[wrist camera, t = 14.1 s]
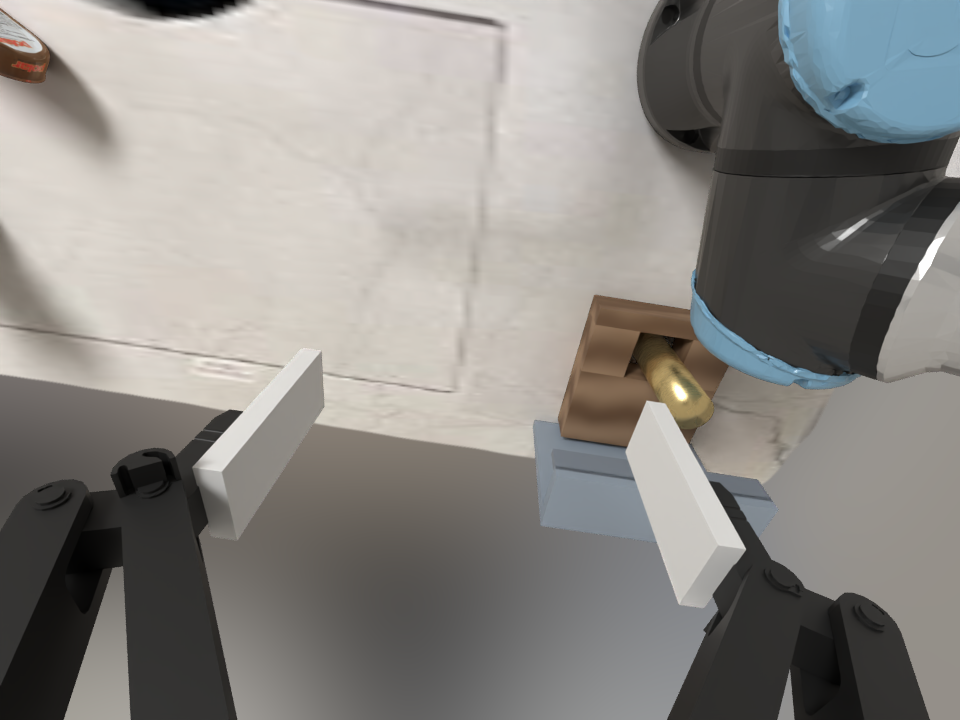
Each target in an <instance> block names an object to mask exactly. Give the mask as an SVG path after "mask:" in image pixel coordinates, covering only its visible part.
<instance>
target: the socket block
mask: <svg viewBox="0 0 960 720" xmlns="http://www.w3.org/2000/svg"><path fill="white" fill-rule="evenodd" d="M640 332H645V333H651V334H658V335H664V336H670V337H676V338H675V340H674V343H673V345H672V349H673V350H674V352H675V353H676V354H677V356H678V357H679V358H680V360H681V361H682V362H683V364H684V365H685V366H686V368H687V369H688V370H689V372H690V373H691V374H692V376H693V377H694V378H695V380H696V381H697V382H698V384H699V385H700V386H701V388H702V389H703V390H704V392H705V393H706V394H707V396H708V397H709V398H710V400H712V398H713V396H714V394H715V392H716V390H717V388H718V386H719V384H720V382H721V380H722V378H723V376H724V374H725V372H726V370H727V368H728V366H729V365H727V364H726V363H724V362H723V361H721V360H719V359H718V358H717V357H715V356H714V355H713V354H711V353H710V352H709V351H708V350H707V349H706V348H705V347H704V346H703V345H702V344H701V342H700V341H699V340H698V339H697V337H696V334H695V333H694V329H693V327H692V325H691V321H690V310H687V309H681V308H675V307H669V306H662V305H656V304H650V303H643V302H637V301H631V300H625V299H618V298H612V297H606V296H599V295H594V298H593V301H592V304H591V308H590V311H589V314H588V318H587V321H586V325H585V328H584V331H583V335H582V338H581V341H580V345H579V348H578V352H577V355H576V358H575V362H574V365H573V368H572V372H571V375H570V379H569V382H568V385H567V389H566V392H565V396H564V399H563V402H562V406H561V409H560V412H559V416H558V421H559V427H560V433H561V437H567V438H573V439H580V440H586V441H593V442H599V443H606V444H612V445H619V446H626V447H628V444H629V442H630V440H631V437H632V435H633V432H634V430H635V428H636V425H637V423H638V420H639V418H640V416H641V413H642V411H643V408H644V406H645V404H646V401H652V402H659V400H658V398H657V397H656V395H655V393H654V391H653V390H652V388H651V386H650V384H649V382H648V381H647V379H646V377H645V375H644V373H643V372H642V370H641V368H640V366H639V365H638V364H634V363H629V361H630V359H631V356H632V353H633V350H634V348H635V345H636V342H637V340H638V337H639V334H640ZM659 403H660V402H659ZM679 429H680V428H679ZM696 429H697V428H694V429H680V431H681V433H682V434H683V436H684V438H685V440H686V442H687V443H688V445H689V443H690V441H691V439H692V437H693V435H694V433H695V431H696Z"/></svg>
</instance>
